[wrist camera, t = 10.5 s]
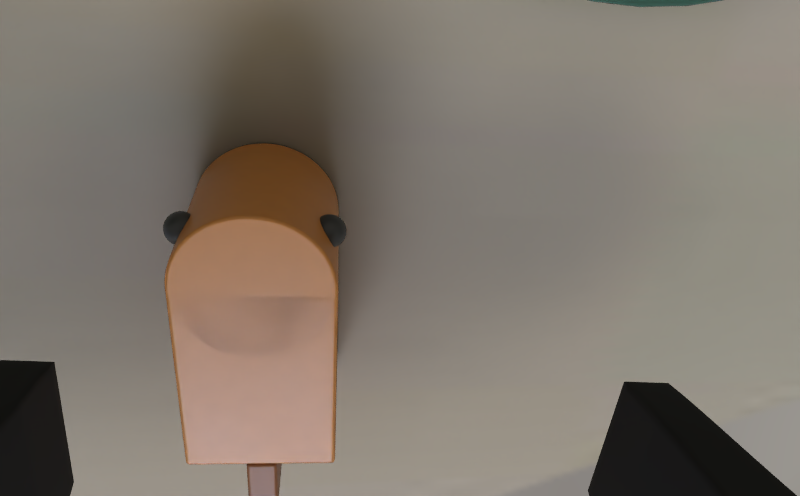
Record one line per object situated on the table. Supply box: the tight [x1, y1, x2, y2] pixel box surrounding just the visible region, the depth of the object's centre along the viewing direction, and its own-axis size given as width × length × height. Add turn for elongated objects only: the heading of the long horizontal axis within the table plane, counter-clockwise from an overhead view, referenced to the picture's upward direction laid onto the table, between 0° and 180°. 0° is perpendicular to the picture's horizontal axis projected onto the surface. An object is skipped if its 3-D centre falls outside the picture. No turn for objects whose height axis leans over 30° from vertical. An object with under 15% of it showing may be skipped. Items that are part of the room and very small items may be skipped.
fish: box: [163, 143, 346, 496], centre depth 17 cm, size 8×4×4 cm, turn 177°
